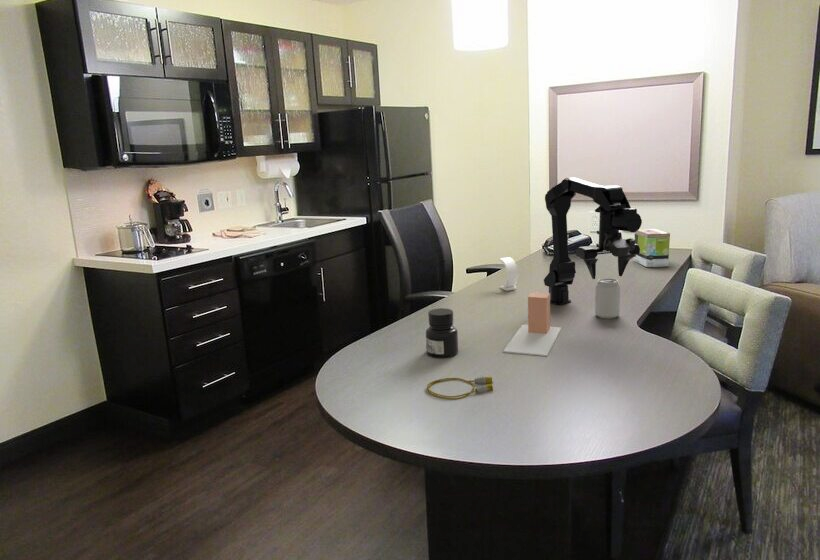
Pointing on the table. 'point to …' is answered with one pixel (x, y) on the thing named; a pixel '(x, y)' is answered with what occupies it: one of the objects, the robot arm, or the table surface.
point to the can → (607, 298)
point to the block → (539, 312)
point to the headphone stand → (510, 273)
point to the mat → (532, 342)
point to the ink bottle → (441, 334)
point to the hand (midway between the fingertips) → (607, 277)
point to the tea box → (652, 247)
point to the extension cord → (478, 380)
